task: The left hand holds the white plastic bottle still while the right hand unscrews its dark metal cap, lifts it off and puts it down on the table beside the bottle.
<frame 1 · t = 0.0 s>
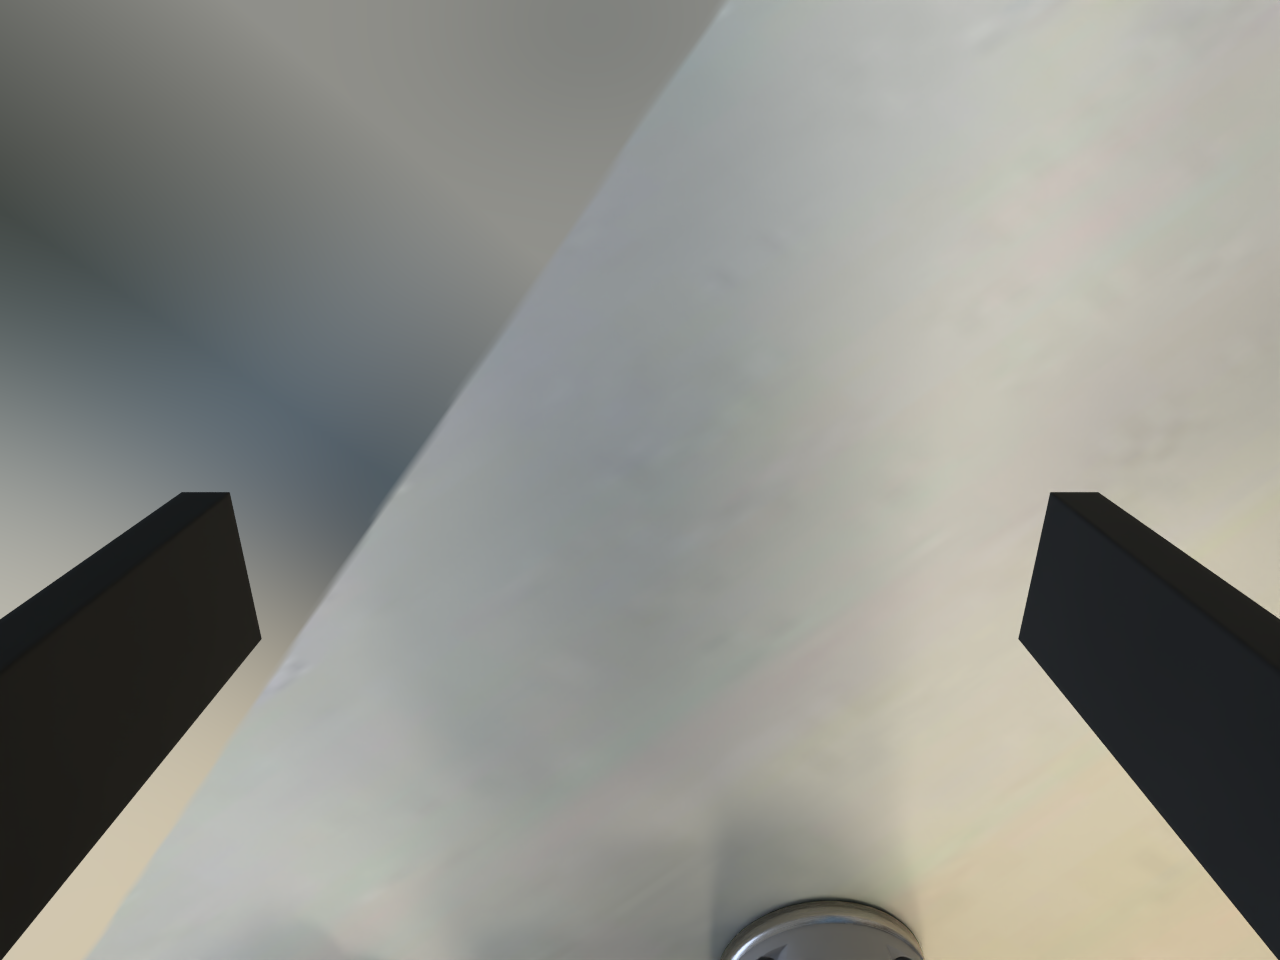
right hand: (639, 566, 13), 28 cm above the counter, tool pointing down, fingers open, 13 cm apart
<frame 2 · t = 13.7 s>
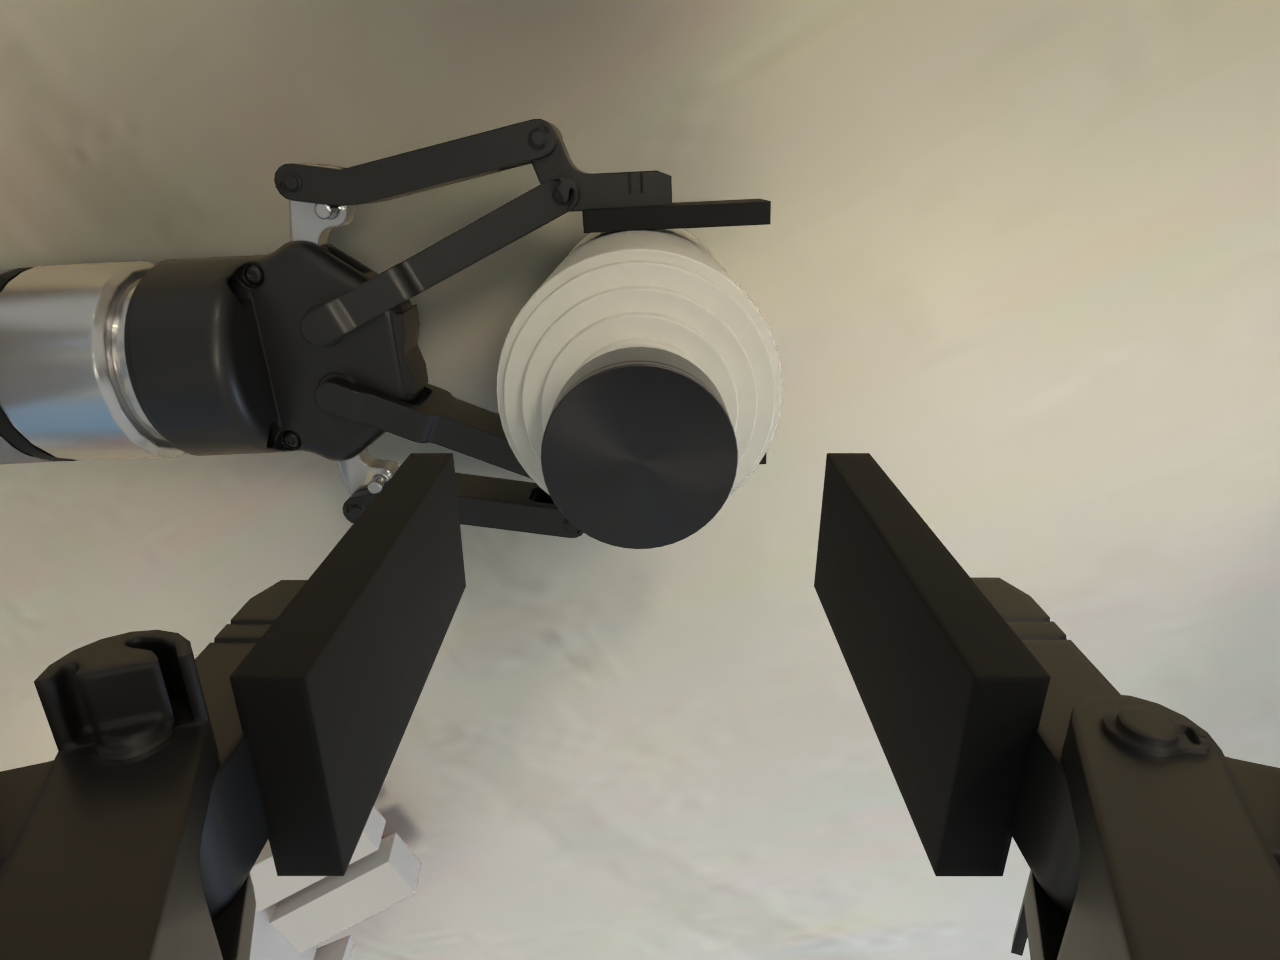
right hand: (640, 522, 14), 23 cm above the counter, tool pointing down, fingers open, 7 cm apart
left hand: (762, 333, 29), fingers closed on bottle, 8 cm apart
cap: (639, 456, 17), point 20 cm above the counter, screwed on, not yet turned
bottle: (639, 310, 36), on the counter, touching left hand
toy: (209, 867, 49), on the counter
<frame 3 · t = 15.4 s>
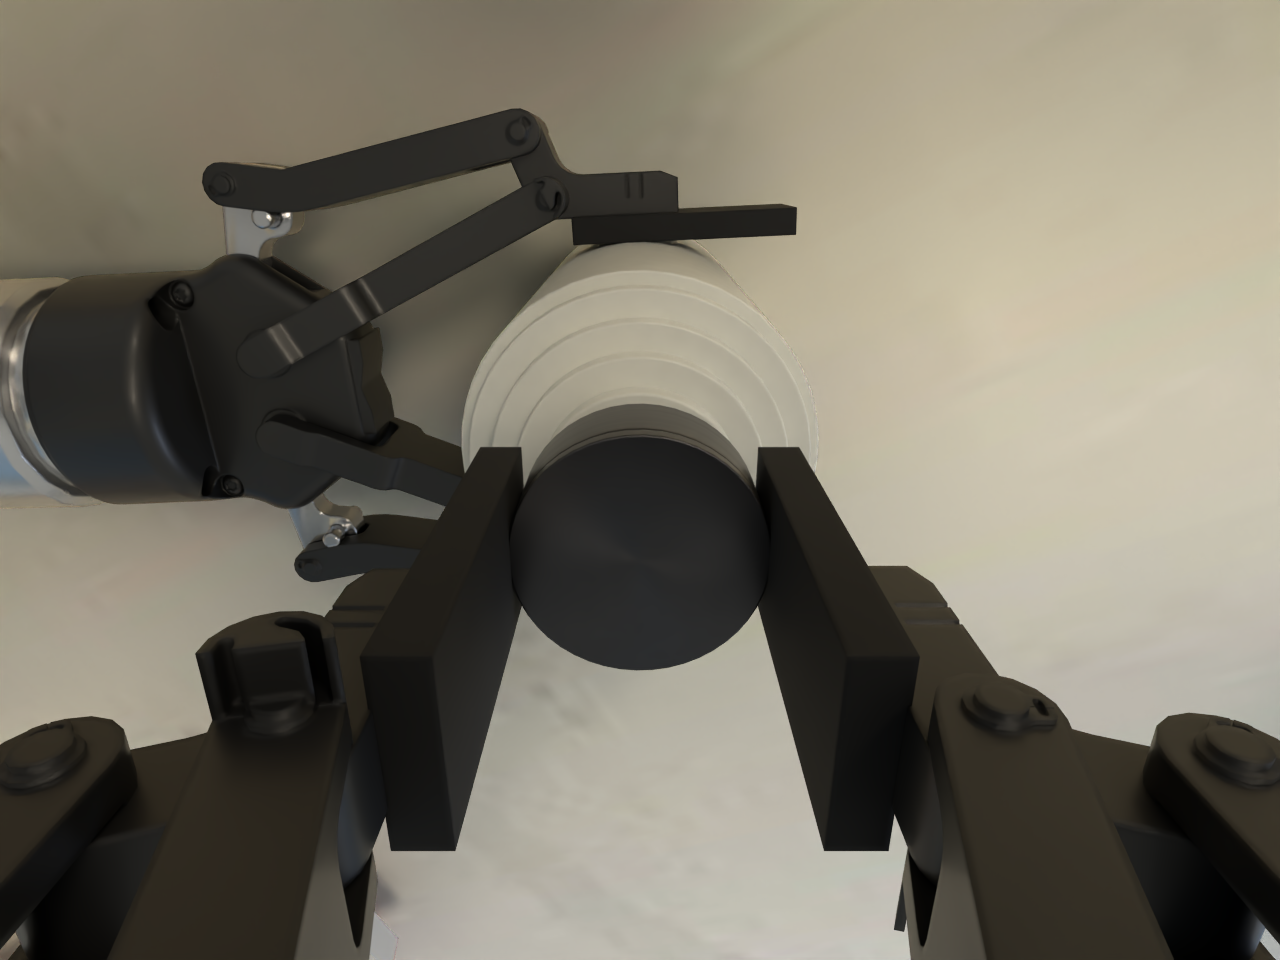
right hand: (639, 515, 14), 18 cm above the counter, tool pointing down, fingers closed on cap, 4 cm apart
left hand: (783, 362, 25), fingers closed on bottle, 8 cm apart
cap: (639, 552, 13), point 20 cm above the counter, screwed on, not yet turned, touching right hand
bottle: (640, 330, 31), on the counter, touching left hand
toy: (167, 935, 44), on the counter
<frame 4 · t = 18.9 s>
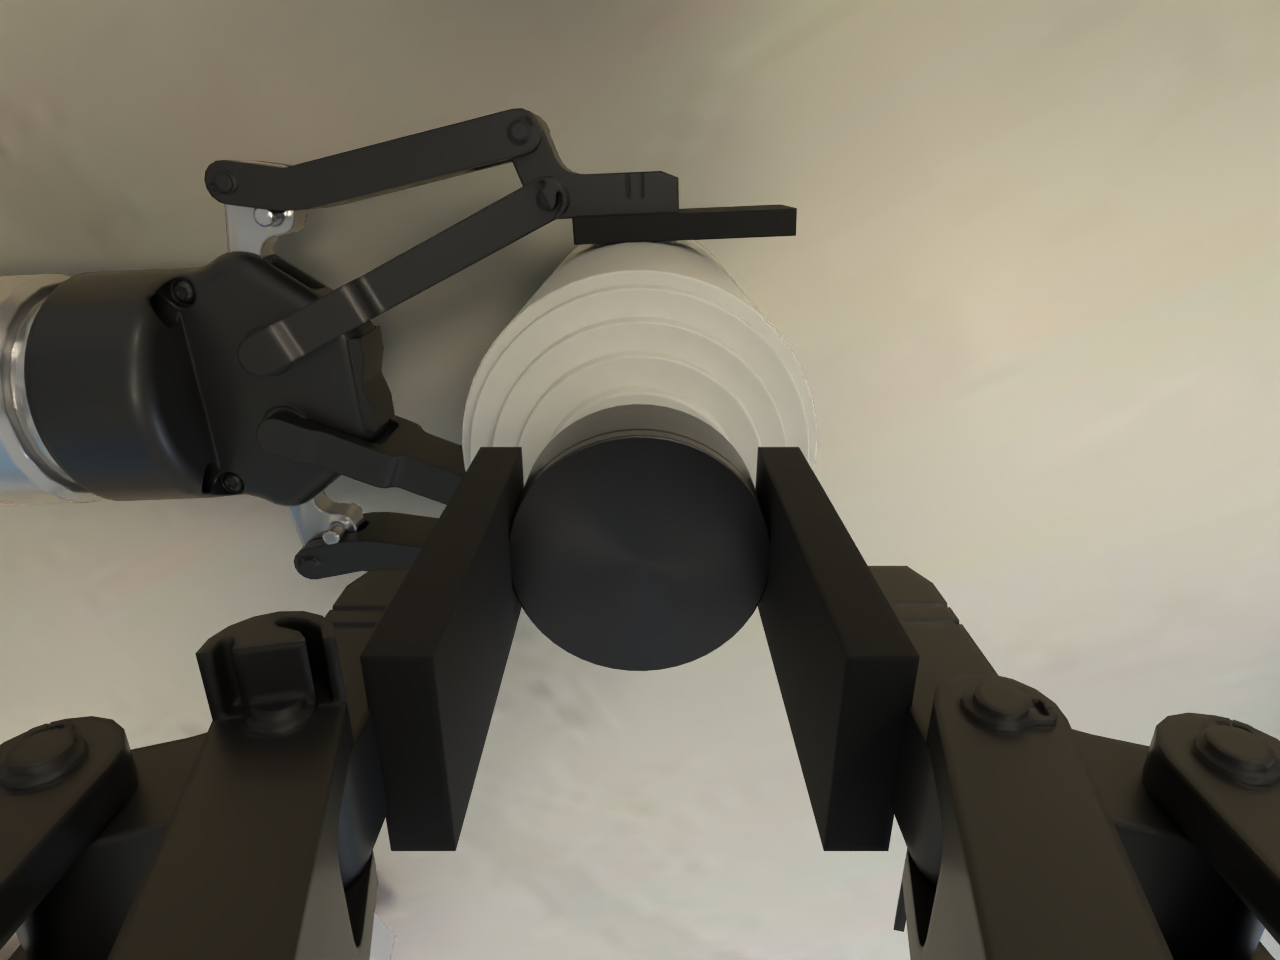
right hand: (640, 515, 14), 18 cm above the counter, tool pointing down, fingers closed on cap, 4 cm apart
left hand: (782, 362, 25), fingers closed on bottle, 8 cm apart
cap: (639, 552, 13), point 20 cm above the counter, turned 124° so far, risen 0.1 cm, still on its thread, touching right hand
bottle: (639, 329, 31), on the counter, touching left hand
toy: (164, 932, 44), on the counter
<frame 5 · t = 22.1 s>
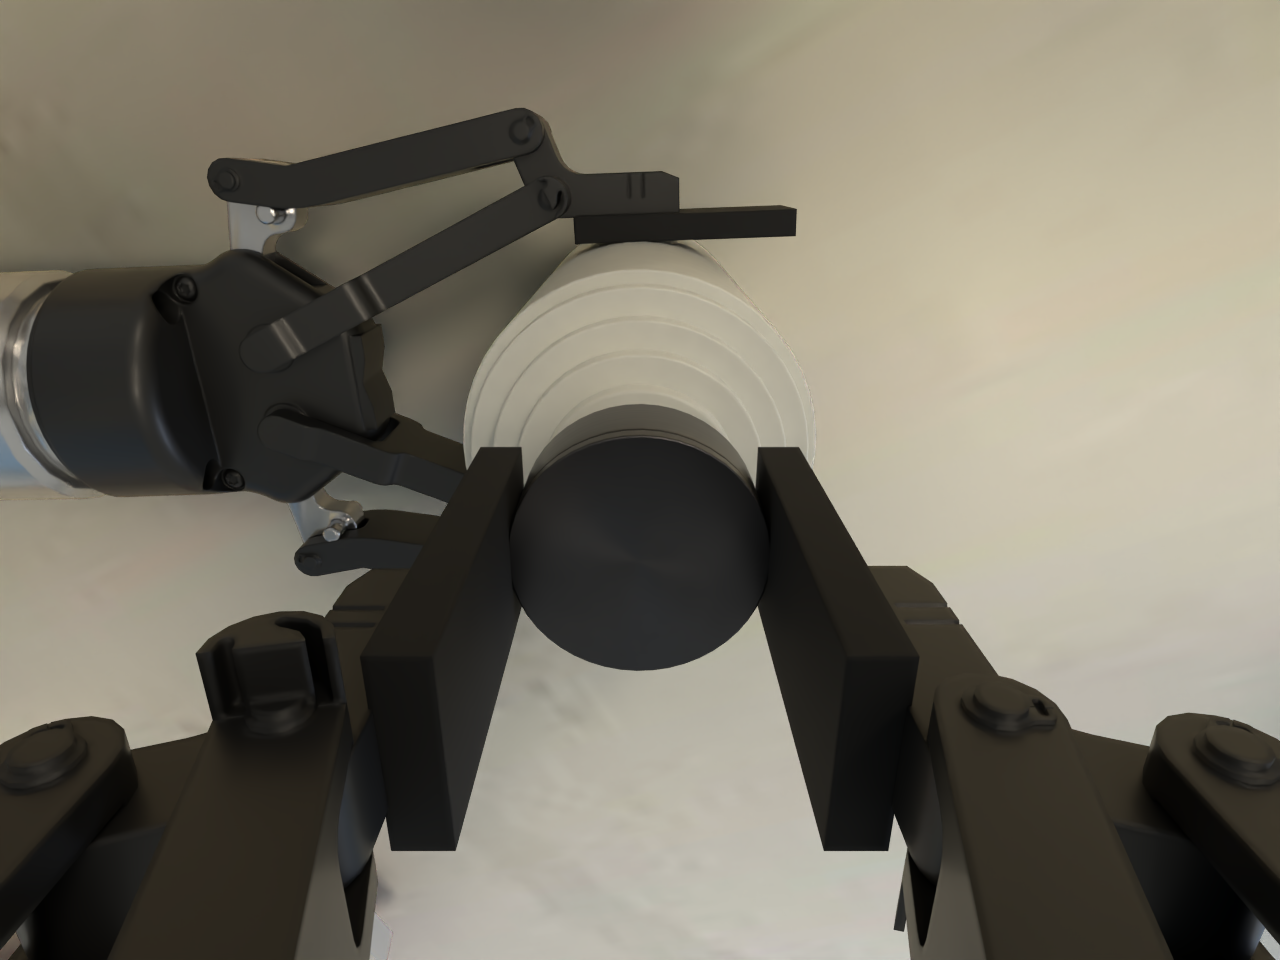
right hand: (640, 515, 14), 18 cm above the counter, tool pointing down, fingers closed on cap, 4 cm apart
left hand: (782, 362, 25), fingers closed on bottle, 8 cm apart
cap: (639, 552, 13), point 20 cm above the counter, turned 248° so far, risen 0.2 cm, still on its thread, touching right hand
bottle: (639, 329, 31), on the counter, touching left hand
toy: (162, 928, 45), on the counter
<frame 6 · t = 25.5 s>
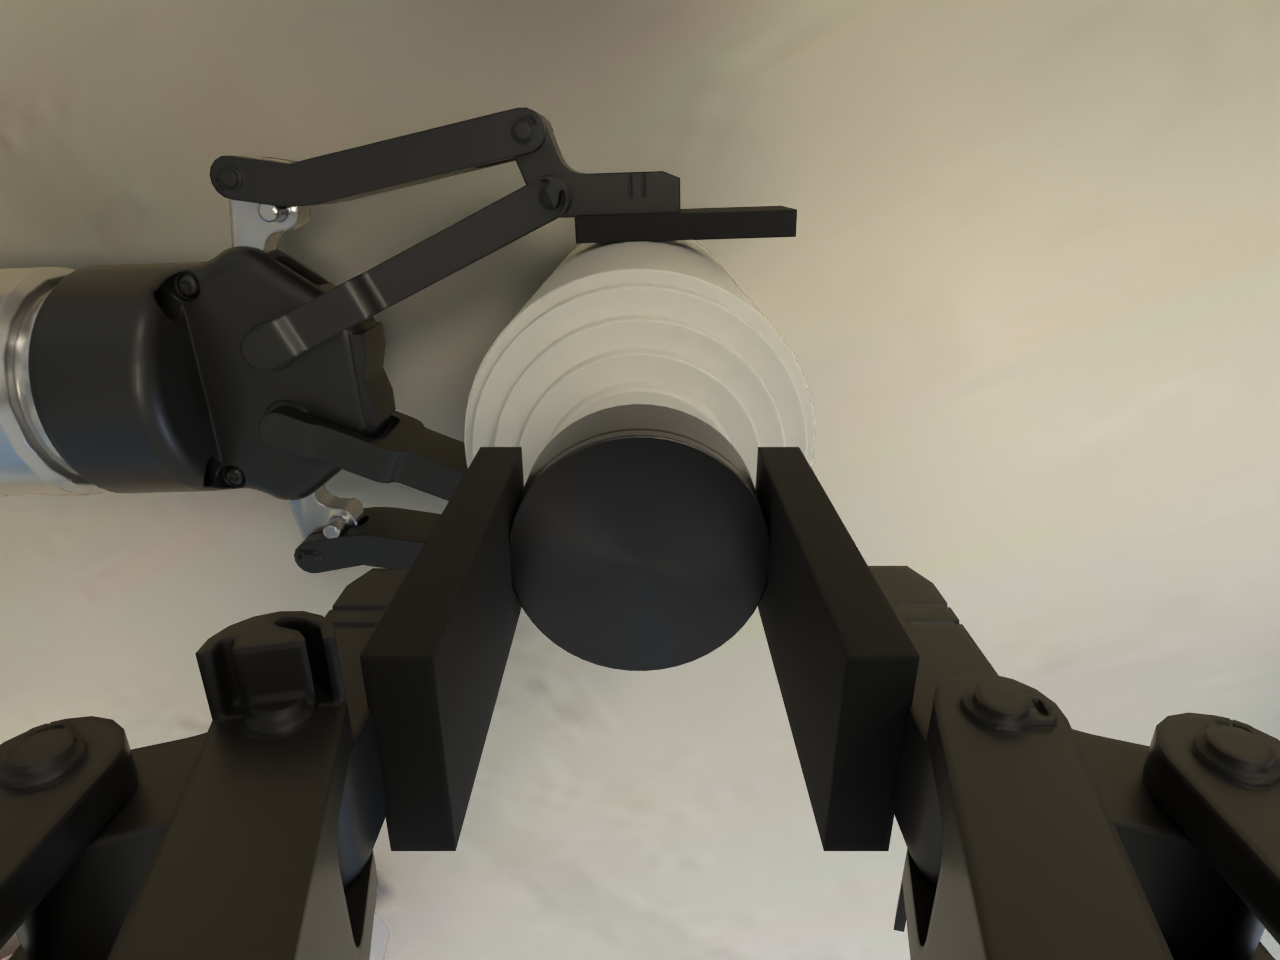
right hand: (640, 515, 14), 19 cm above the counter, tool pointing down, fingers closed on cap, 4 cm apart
left hand: (781, 362, 25), fingers closed on bottle, 8 cm apart
cap: (639, 552, 13), point 20 cm above the counter, turned 373° so far, risen 0.3 cm, still on its thread, touching right hand
bottle: (639, 328, 32), on the counter, touching left hand
toy: (159, 925, 45), on the counter
when the right hand's fingers open (1 cm above the counter, at t = 32.6 s): cap drops 1 cm, point 1 cm above the counter.
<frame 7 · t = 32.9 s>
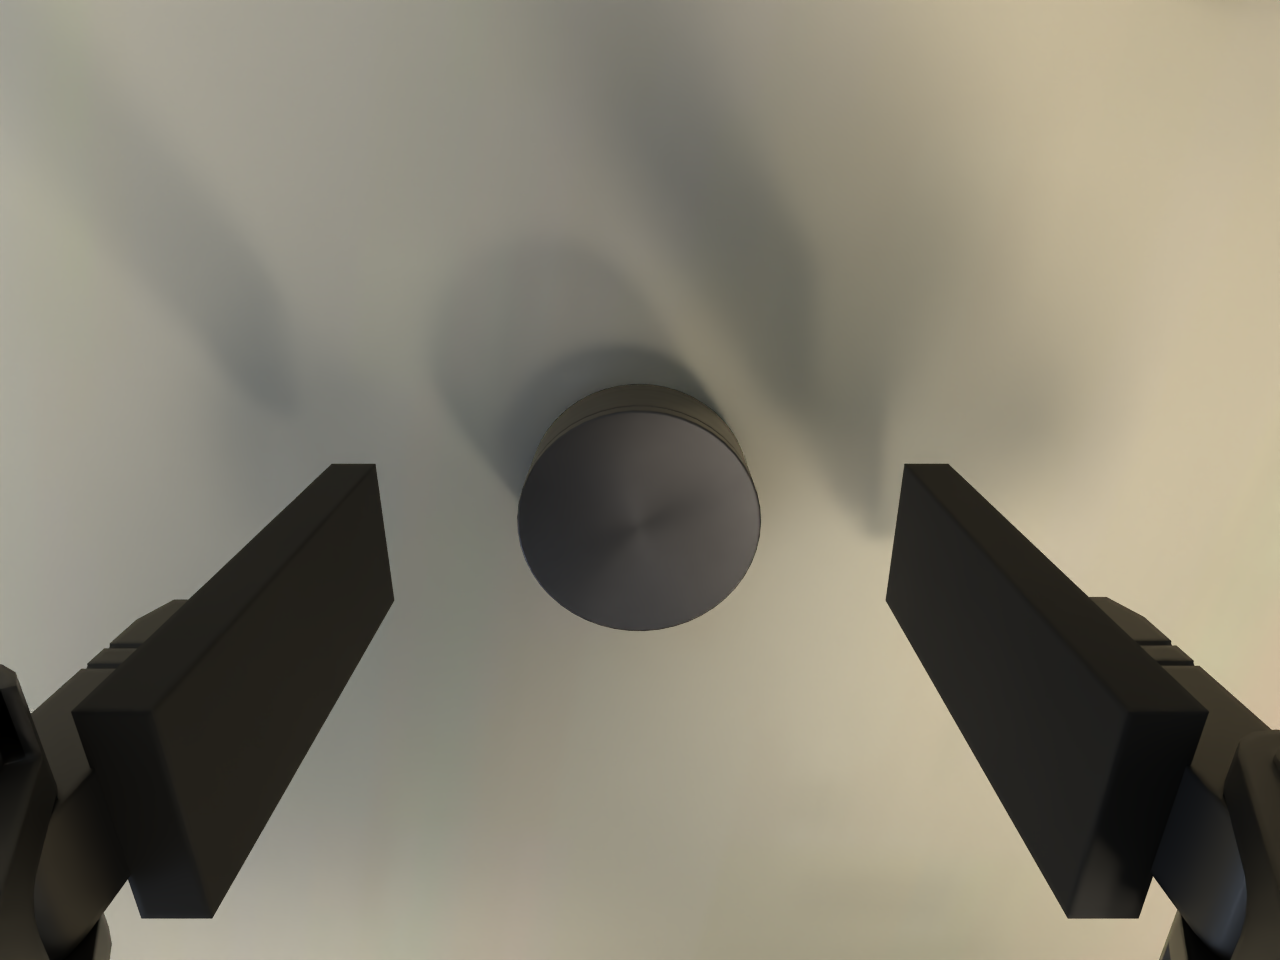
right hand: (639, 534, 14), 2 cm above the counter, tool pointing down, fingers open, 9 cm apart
cap: (639, 520, 14), point 1 cm above the counter, off its thread
when the left hand's fingers open (7 cm above the counter, at t = 33.9 s): bottle stays where it is, on the counter.
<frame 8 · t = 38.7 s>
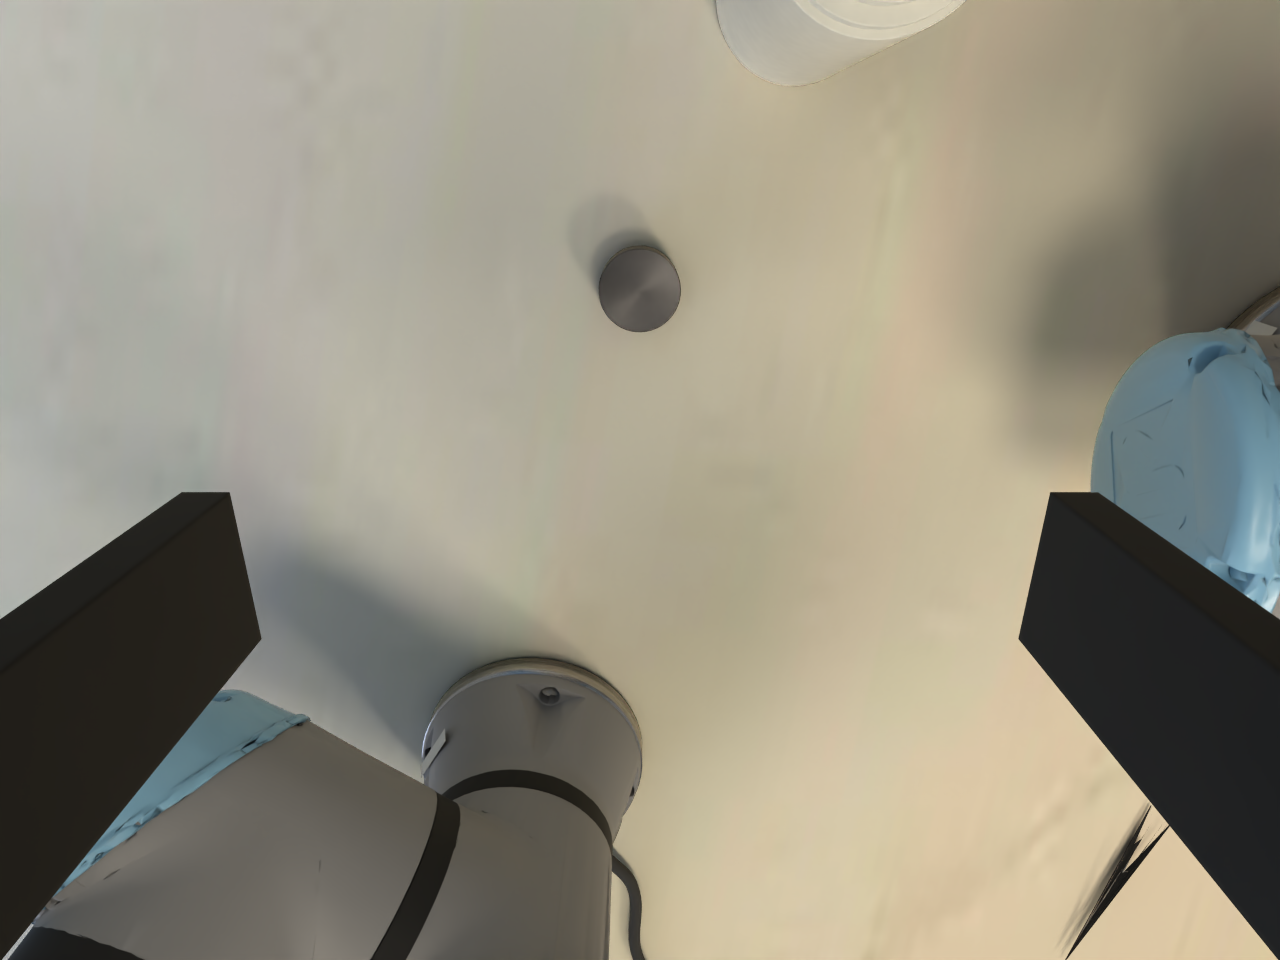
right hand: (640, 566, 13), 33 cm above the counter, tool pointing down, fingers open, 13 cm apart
cap: (639, 290, 41), point 1 cm above the counter, off its thread
feather: (1077, 927, 62), on the counter
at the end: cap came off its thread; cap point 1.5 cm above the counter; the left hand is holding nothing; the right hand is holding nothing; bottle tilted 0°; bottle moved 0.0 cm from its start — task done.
